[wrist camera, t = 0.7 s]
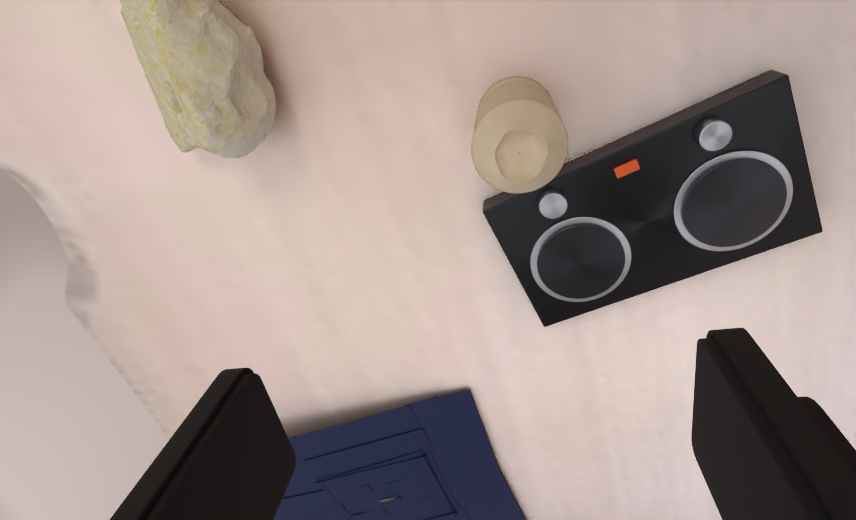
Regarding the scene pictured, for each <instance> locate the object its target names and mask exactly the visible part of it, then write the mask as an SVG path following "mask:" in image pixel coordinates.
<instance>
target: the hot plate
mask: <svg viewBox="0 0 856 520" xmlns="http://www.w3.org/2000/svg"><path fill="white" fill-rule="evenodd" d="M483 213H484V215H485V217H486V219H487V221H488V223H489V224H490V226H491V228H492V230H493V232H494V234H495V236H496V238H497V239H498V241H499V243H500V245H501V247H502V249H503V251H504V253H505V254H506V256H507V258H508V260H509V262H510V264H511V266H512V267H513V269H514V271H515V273H516V275H517V277H518V279H519V281H520V282H521V284H522V286H523V288H524V290H525V292H526V294H527V296H528V297H529V299H530V301H531V303H532V305H533V307H534V309H535V311H536V312H537V314H538V316H539V318H540V320H541V322H542V324H543V326H544V327H546V326H549V325H552V324H555V323H558V322H560V321H563V320H566V319H569V318H572V317H575V316H578V315H581V314H584V313H587V312H590V311H593V310H595V309H598V308H601V307H604V306H607V305H610V304H613V303H616V302H619V301H622V300H625V299H628V298H630V297H633V296H636V295H639V294H642V293H645V292H648V291H651V290H654V289H657V288H660V287H663V286H665V285H668V284H671V283H674V282H677V281H680V280H683V279H686V278H689V277H692V276H695V275H697V274H700V273H703V272H706V271H709V270H712V269H715V268H718V267H721V266H724V265H727V264H730V263H732V262H735V261H738V260H741V259H744V258H747V257H750V256H753V255H756V254H759V253H762V252H765V251H767V250H770V249H773V248H776V247H779V246H782V245H785V244H788V243H791V242H794V241H797V240H800V239H802V238H805V237H808V236H811V235H814V234H817V233H820V232H822V226H821V222H820V217H819V213H818V208H817V204H816V199H815V195H814V190H813V186H812V181H811V177H810V172H809V167H808V163H807V158H806V154H805V149H804V145H803V140H802V136H801V131H800V127H799V122H798V118H797V113H796V109H795V104H794V100H793V95H792V90H791V86H790V81H789V77H788V75H786V74H783V73H780V72H776V71H773V70H770V71H768V72H765V73H763V74H761V75H759V76H757V77H754V78H752V79H750V80H748V81H746V82H744V83H741V84H739V85H737V86H735V87H733V88H730V89H728V90H726V91H724V92H722V93H719V94H717V95H715V96H713V97H711V98H708V99H706V100H704V101H702V102H700V103H697V104H695V105H693V106H691V107H689V108H687V109H684V110H682V111H680V112H678V113H676V114H673V115H671V116H669V117H667V118H665V119H662V120H660V121H658V122H656V123H654V124H651V125H649V126H647V127H645V128H643V129H640V130H638V131H636V132H634V133H632V134H630V135H627V136H625V137H623V138H621V139H619V140H616V141H614V142H612V143H610V144H608V145H605V146H603V147H601V148H599V149H597V150H594V151H592V152H590V153H588V154H586V155H584V156H581V157H579V158H577V159H575V160H573V161H570V162H568V163H566V164H564V165H563V166H562V168H561V170H560V171H559V172H558V174H557V175H556V176H555V177H554V178H553V179H552V180H551V181H550V182H549V183H547V184H546V185H544V186H543V187H541V188H539V189H537V190H534V191H531V192H527V193H507V192H502V193H500V194H498V195H496V196H494V197H491V198H489V199H487V200H485V201H484V204H483Z"/></svg>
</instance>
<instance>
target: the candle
mask: <svg viewBox="0 0 856 520" xmlns="http://www.w3.org/2000/svg"><path fill="white" fill-rule="evenodd" d="M567 151H568V137H567V132H566V129H565V127H564V124H563V122H562V120H561V118H560V116H559V114H558V112H557V110H556V108H555V105H554V103H553V101H552V99H551V97H550V95H549V94H548V92H547V91H546V90H545V89H544V87H543V86H541V85H540V84H539V83H537V82H536V81H534V80H531V79H529V78H525V77H511V78H506V79H503V80H501V81H499V82H497V83H496V84H494V85H493V86H492V87H491V88H490V89H489V90H488V91H487V92H486V93H485V94H484V96H483V98H482V99H481V102H480V104H479V107H478V111H477V116H476V122H475V127H474V133H473V139H472V146H471V153H472V159H473V163H474V165H475V168H476V170H477V171H478V173H479V175H480V176H481V177H482V178H483V179H484V180H485V181H486V182H487V183H488V184H489V185H491V186H492V187H494V188H496V189H498V190H501V191H503V192H507V193H527V192H531V191H534V190H537V189H539V188H541V187H543V186H544V185H546V184H547V183H549V182H550V181H551V180H552V179H553V178H554V177H555V176H556V175H557V174H558V172H559V171H560V170H561V168H562V166H563V164H564V162H565V159H566V156H567Z"/></svg>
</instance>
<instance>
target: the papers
mask: <svg viewBox="0 0 856 520" xmlns="http://www.w3.org/2000/svg"><path fill="white" fill-rule="evenodd" d="M288 439H289V441H290V444H291V446H292V448H293V450H294V452H295V455H296V467H295V470H294V473H293V475H292V478H291V480H290V482H289V485H288V487H287V489H286V491H285V494H284V496H283V498H282V501H281V503H280V505H279V508H278V510H277V512H276V514H275V517H274V519H273V520H525V518H524V516H523V514H522V512H521V510H520V508H519V506H518V504H517V502H516V500H515V498H514V496H513V494H512V492H511V491H510V489H509V487H508V485H507V483H506V481H505V479H504V477H503V475H502V473H501V471H500V469H499V467H498V464H497V462H496V459H495V456H494V454H493V451H492V448H491V446H490V443H489V440H488V438H487V435H486V432H485V430H484V427H483V424H482V422H481V419H480V416H479V414H478V411H477V409H476V406H475V403H474V401H473V398H472V395H471V393H470V390H465V391H461V392H457V393H453V394H449V395H445V396H441V397H438V396H437V397H434V398H430V399H427V400H423V401H420V402H416V403H413V404H410V405H406V406H404V407H401V408H398V409H394V410H391V411H387V412H384V413H380V414H376V415H373V416H369V417H366V418H362V419H358V420H355V421H351V422H348V423H344V424H341V425H337V426H333V427H330V428H326V429H323V430H319V431H315V432H312V433H308V434H305V435H301V436H298V437H296V436H295V437H291V438H288Z"/></svg>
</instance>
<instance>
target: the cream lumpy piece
mask: <svg viewBox="0 0 856 520" xmlns="http://www.w3.org/2000/svg"><path fill="white" fill-rule="evenodd" d="M120 2H121V5H122V10H121V13H122V16H123V19H124V22H125V25H126V27H127V30H128V32H129V34H130V37H131V39H132V42H133V45H134V47H135V50H136V53H137V56H138V59H139V61H140V63H141V65H142V67H143V70H144V72H145V76H146V79H147V81H148V83H149V85H150V87H151V89H152V91H153V93H154V96H155V98H156V101H157V104H158V106H159V108H160V111H161V113H162V115H163V119H164V123H165V126H166V128H167V130H168V132H169V134H170V136H171V138H172V139H173V141H174V142H175V144H176V145H177V146H178V148H179V149H180V151H181V152H184V153H185V152H189V151H191V150H193V149H195V148H198V147H201V148H203V149H205V150H208V151H210V152H213V153H216V154H218V155H220V156H222V157H225V158H239V157H242V156H244V155H247V154H248V153H250V152H252V151H253V150H254V149H255V148H256V147H257V146H258V144H259V143H260V142H261V141H263V140H264V139H265V137H266V136H267V135H268V134H269V133H270V132H271V130H272V128H273V125H274V117H275V114H276V102H275V101H276V100H275V94H274V90H273V87H272V84H271V83H270V81H269V80H268V79H267V77H266V75H265V74H264V70H263V57H262V52H261V48H260V44H259V43H258V41H257V39H256V38H255V34H254V31H253V30H252V29H251V28H250V27H248V26H246V25H245V24H243V23H242V22H241V21H240V20H238V19H237V18H236V17H235V16H234V15H233V14H232V13H231V12H230V11H229V10H228V9H227V8H226V7H224V6H223V5H222V4H221V3H220V2H219V1H218V0H120Z"/></svg>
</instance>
